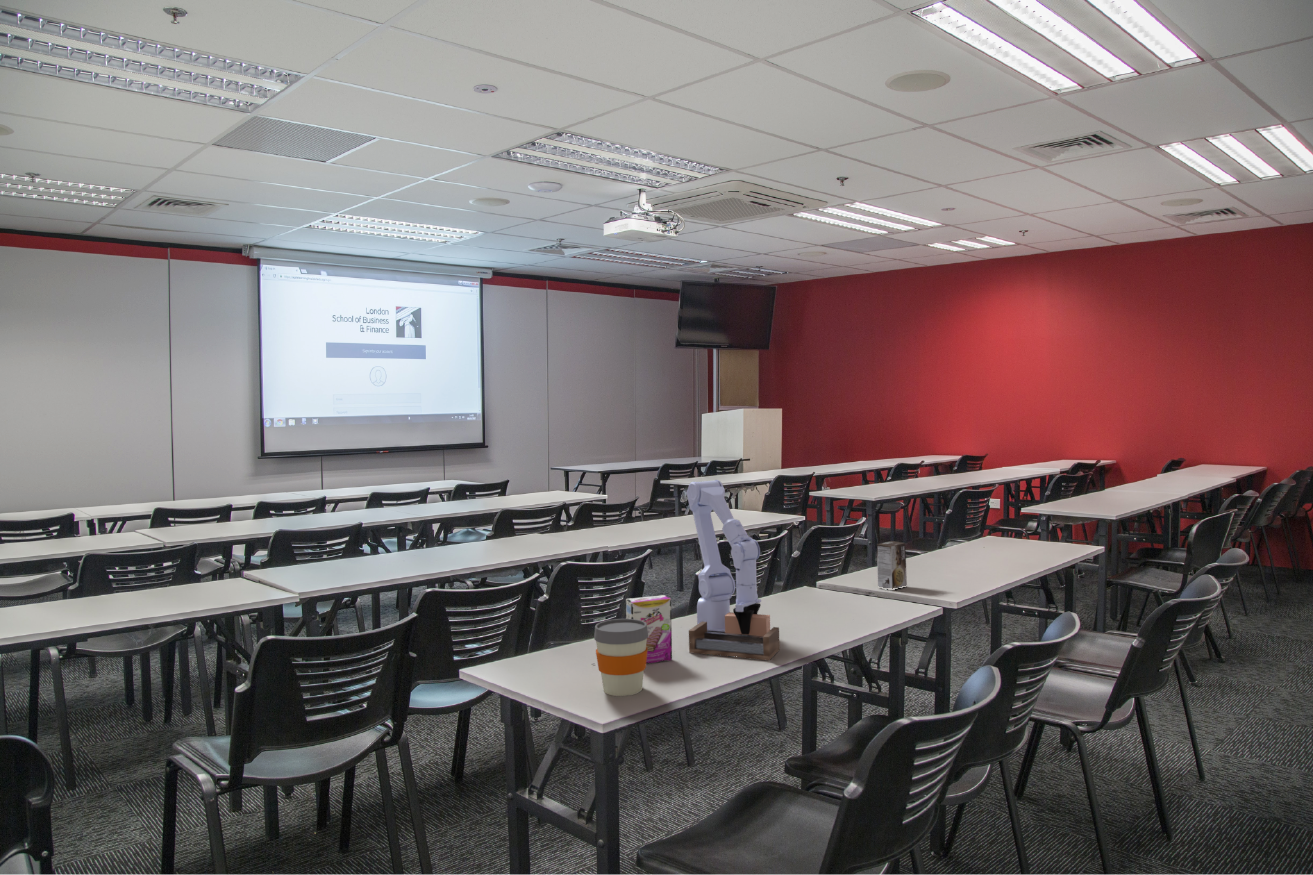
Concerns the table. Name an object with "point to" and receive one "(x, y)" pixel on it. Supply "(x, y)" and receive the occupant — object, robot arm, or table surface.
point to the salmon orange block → (757, 625)
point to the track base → (733, 643)
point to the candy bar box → (654, 624)
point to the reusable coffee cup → (621, 655)
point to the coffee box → (891, 564)
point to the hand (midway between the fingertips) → (747, 631)
